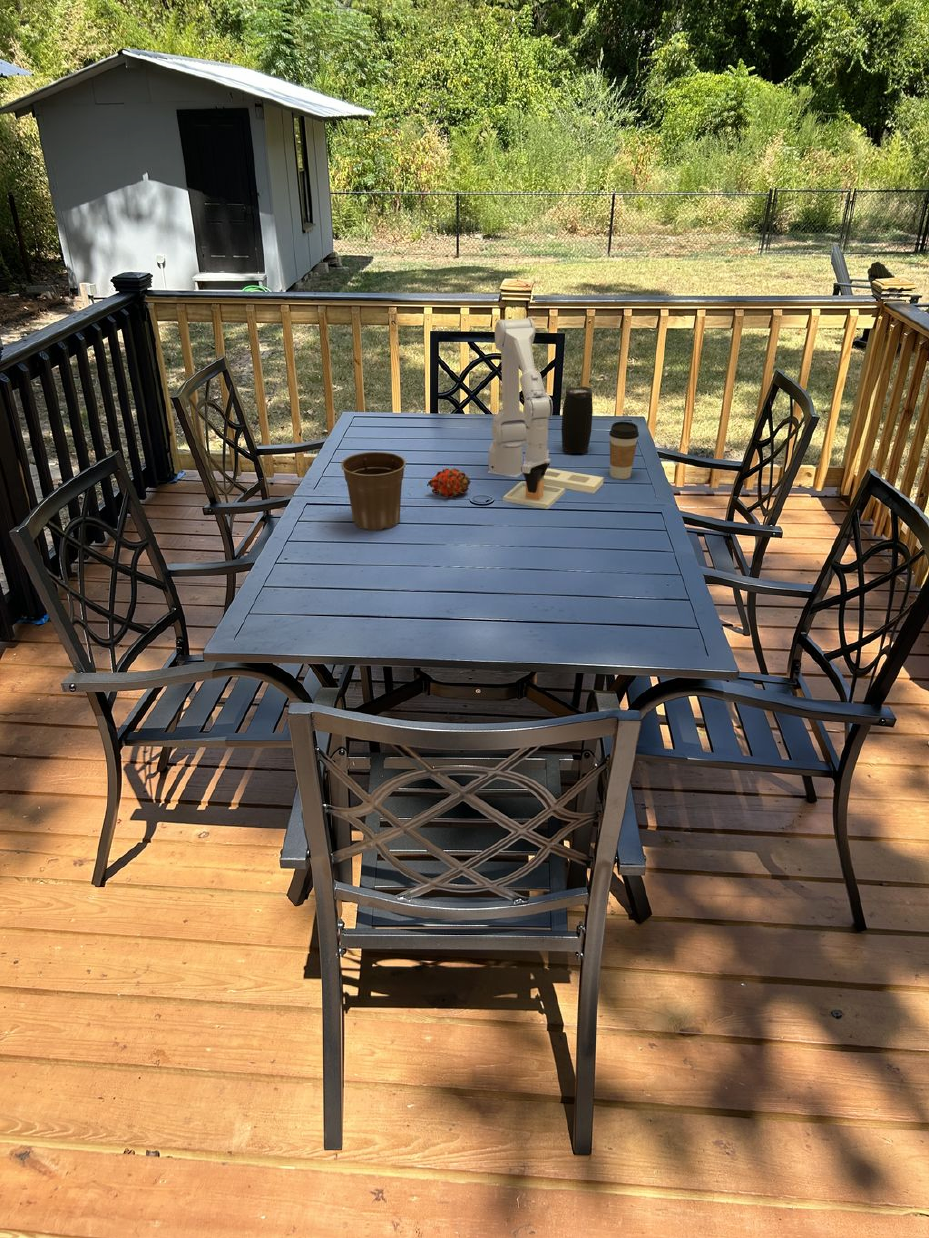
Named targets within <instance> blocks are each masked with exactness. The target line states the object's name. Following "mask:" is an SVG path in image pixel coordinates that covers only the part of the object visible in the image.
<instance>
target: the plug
mask: <svg viewBox="0 0 929 1238" xmlns="http://www.w3.org/2000/svg"><path fill="white" fill-rule="evenodd" d="M543 487H544V475H540V477H539V481H538V486H537V491H536V493H532V492H528V488H527V484H526V496H525V497H526V498H532V499H538V500H539V499H540V498H541V497H543Z"/></svg>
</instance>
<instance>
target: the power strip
mask: <svg viewBox="0 0 929 1238" xmlns="http://www.w3.org/2000/svg"><path fill="white" fill-rule="evenodd" d="M603 484H604V477H603V476H597V475H592V474H591V475H590V474H584V473H578V472H572V471H567V470H561V469H554V468H549V467H548V468H547V470H546V473H545V475H544V485H548V486H553V487H559V488H565V490H571V491H577V492H582V493H583V492H584V493H588V494H595V493H596V492H597V491H598V490H599V489H600V488H601V487H602V486H603Z"/></svg>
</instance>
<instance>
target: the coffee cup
mask: <svg viewBox="0 0 929 1238" xmlns="http://www.w3.org/2000/svg"><path fill="white" fill-rule="evenodd" d="M608 435H609V436H610V440H609V476H610V477H611V478H612V479H613V478H614V479H616V480H627V479H630V477H631V474H632V469H633V465H634V459H635V455H636V449H637V444H638V442H637V441H638V438H639V436H640V433H639V427H638V426H637V425H636V424H635V423H633V422H631V421H624V420H623V421H617V422H614V423H612V424H611V429H610V431H609V433H608Z"/></svg>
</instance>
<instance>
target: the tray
mask: <svg viewBox="0 0 929 1238" xmlns="http://www.w3.org/2000/svg"><path fill="white" fill-rule="evenodd" d="M565 493H566V489H565V488H559V487H553V486H548V485H544V487H543V497H541V498H540V499H539V500H538V499H532V498H526V497H525V496H526V480H525V481H524V480H523V481H522V480H521V481H520V482H519V483H518V484H516V485H515V486H513V488H511V489H510V490H509V491H508V492H507V493H506V494H505V495H504V496H503V497H502V501H503V502H508V503H513V504H518V505H522V506H529V507H534V508H539V509H545V510H548V509H550V508H551V507H552V506H553V505H554V504H555V503H556V502H557V501H558V500H559V499H560V498H561V497H562V496H563V495H564V494H565Z"/></svg>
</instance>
